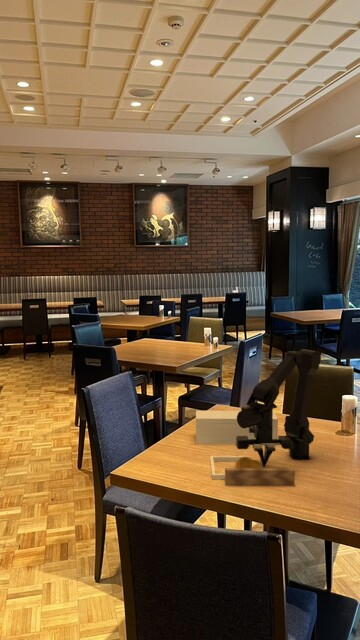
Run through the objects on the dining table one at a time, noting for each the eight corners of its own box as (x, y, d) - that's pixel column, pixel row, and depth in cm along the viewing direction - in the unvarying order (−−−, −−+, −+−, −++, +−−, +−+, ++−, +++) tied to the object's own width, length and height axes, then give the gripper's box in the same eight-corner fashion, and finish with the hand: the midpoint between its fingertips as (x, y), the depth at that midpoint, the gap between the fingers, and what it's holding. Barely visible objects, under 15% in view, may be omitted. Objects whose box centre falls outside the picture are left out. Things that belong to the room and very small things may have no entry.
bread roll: (252, 477, 159) (252, 466, 159) (231, 469, 166) (231, 458, 165) (267, 470, 165) (267, 459, 165) (246, 462, 171) (246, 452, 171)
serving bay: (246, 460, 173) (246, 456, 173) (251, 479, 158) (251, 475, 157) (210, 460, 174) (210, 456, 174) (212, 479, 158) (212, 474, 158)
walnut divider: (293, 483, 155) (293, 468, 154) (294, 485, 153) (294, 470, 152) (224, 482, 155) (224, 468, 155) (225, 485, 154) (225, 470, 153)
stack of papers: (195, 444, 190) (195, 418, 189) (196, 435, 200) (196, 410, 199) (277, 445, 188) (277, 418, 187) (273, 436, 199) (273, 410, 198)
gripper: (286, 415, 171) (286, 457, 173) (234, 415, 172) (234, 457, 173) (293, 425, 160) (292, 470, 162) (237, 425, 161) (237, 470, 162)
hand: (263, 466), depth 165 cm, fingers closed
